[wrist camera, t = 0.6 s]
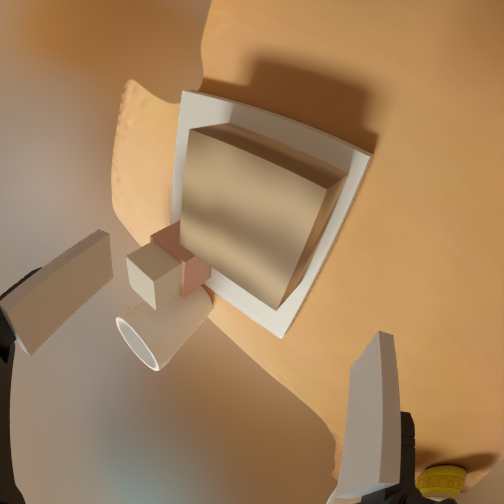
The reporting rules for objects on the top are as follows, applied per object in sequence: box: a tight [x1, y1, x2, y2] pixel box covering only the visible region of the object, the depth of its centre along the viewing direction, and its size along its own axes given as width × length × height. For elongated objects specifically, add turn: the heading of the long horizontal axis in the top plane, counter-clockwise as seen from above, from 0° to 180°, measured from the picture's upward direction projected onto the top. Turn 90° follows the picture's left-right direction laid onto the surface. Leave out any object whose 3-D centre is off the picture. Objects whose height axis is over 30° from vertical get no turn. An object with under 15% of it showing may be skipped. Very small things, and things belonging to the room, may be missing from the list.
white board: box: [170, 90, 373, 339], centre depth 29 cm, size 24×20×2 cm
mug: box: [415, 465, 466, 501], centre depth 24 cm, size 13×11×12 cm
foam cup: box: [116, 285, 213, 371], centre depth 38 cm, size 10×9×13 cm
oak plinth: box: [179, 123, 349, 311], centre depth 23 cm, size 12×12×5 cm
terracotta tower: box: [126, 220, 212, 311], centre depth 32 cm, size 6×6×9 cm
